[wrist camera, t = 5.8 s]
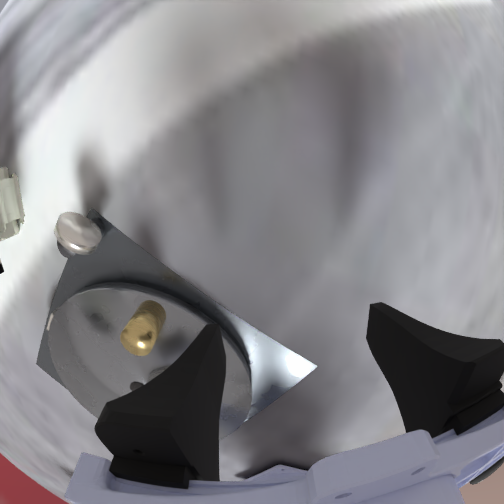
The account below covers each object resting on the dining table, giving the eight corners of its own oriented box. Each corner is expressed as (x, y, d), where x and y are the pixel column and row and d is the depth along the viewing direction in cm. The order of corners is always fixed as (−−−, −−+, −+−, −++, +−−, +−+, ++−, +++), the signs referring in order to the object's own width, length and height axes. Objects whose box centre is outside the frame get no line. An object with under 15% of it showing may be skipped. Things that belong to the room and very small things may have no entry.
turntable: (299, 371, 19) (308, 414, 15) (184, 453, 23) (178, 484, 19) (91, 228, 15) (52, 249, 11) (41, 366, 19) (21, 391, 15)
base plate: (315, 361, 19) (317, 366, 19) (188, 452, 24) (187, 456, 23) (96, 205, 15) (91, 207, 15) (38, 360, 20) (36, 363, 19)
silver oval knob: (118, 230, 15) (85, 250, 12) (107, 250, 16) (74, 274, 12) (86, 204, 15) (49, 218, 11) (77, 225, 15) (40, 243, 11)
